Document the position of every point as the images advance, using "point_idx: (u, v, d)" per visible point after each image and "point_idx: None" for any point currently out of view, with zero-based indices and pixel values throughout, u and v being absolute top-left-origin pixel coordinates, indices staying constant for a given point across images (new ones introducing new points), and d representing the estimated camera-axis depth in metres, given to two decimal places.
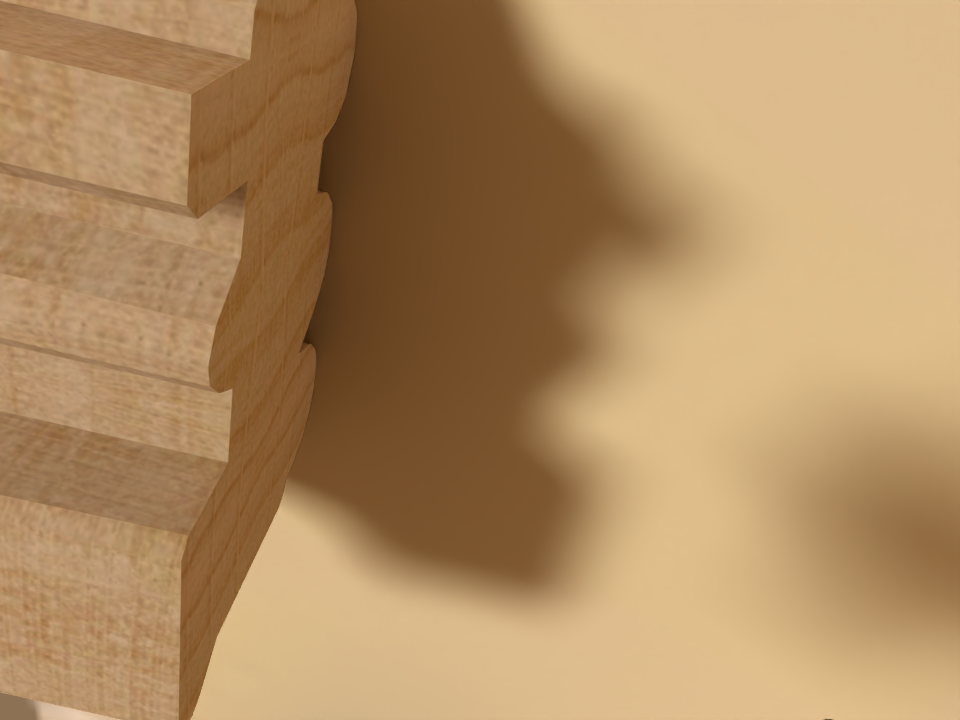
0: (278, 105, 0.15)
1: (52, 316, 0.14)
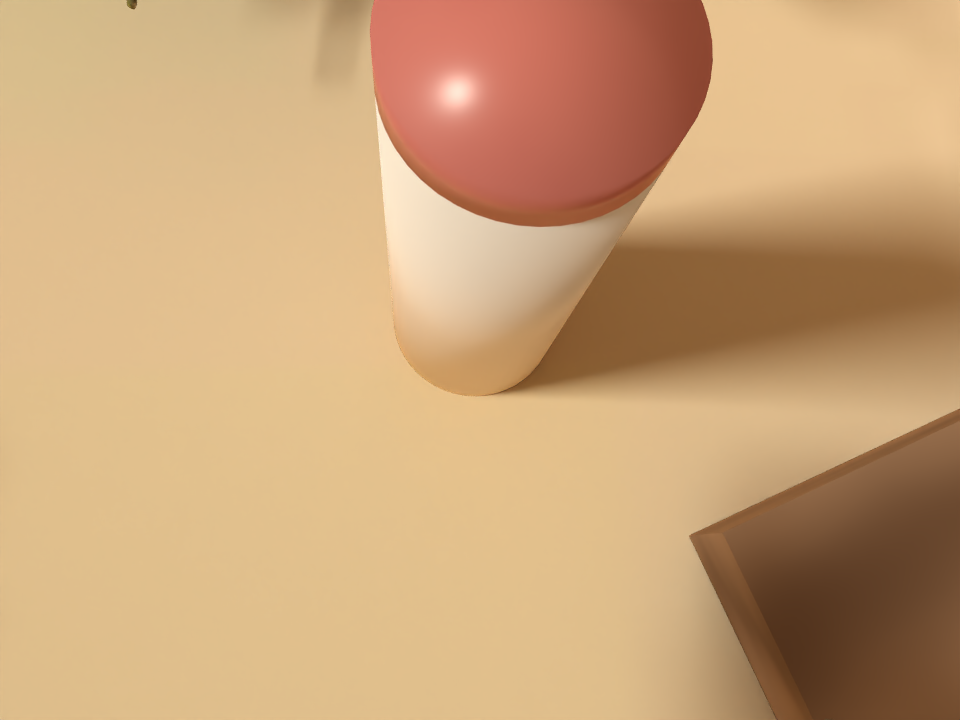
0: None
1: None
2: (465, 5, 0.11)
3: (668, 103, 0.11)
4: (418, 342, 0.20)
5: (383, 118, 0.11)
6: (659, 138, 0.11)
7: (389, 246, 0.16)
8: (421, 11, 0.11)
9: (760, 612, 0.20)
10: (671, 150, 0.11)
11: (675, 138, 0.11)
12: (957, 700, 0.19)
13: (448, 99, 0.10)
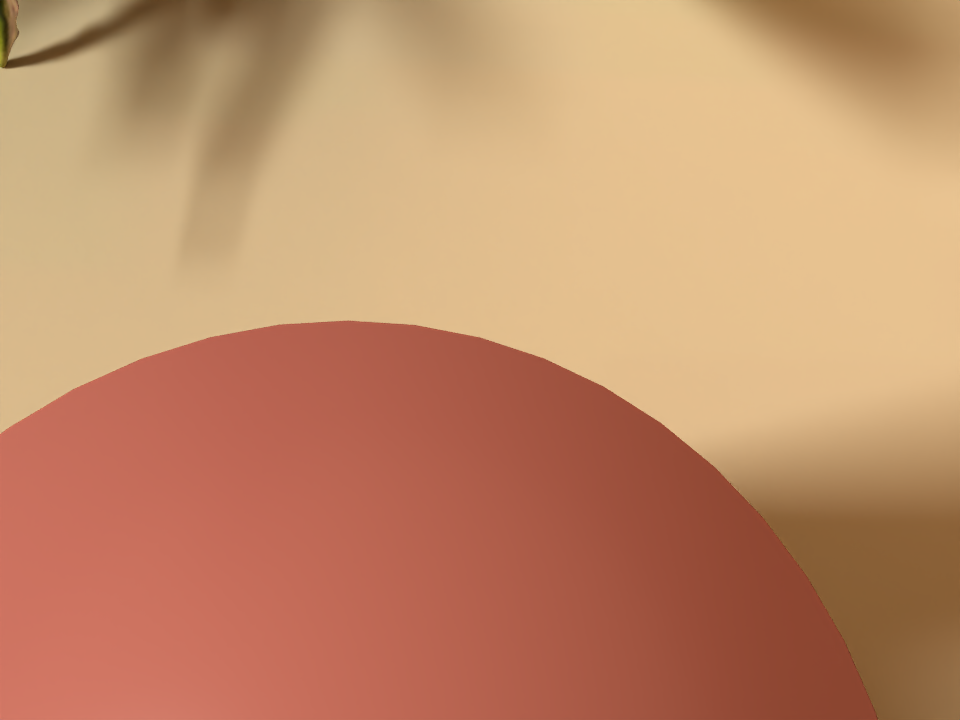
0: None
1: None
2: None
3: None
4: None
5: None
6: None
7: None
8: None
9: None
10: None
11: None
12: None
13: None
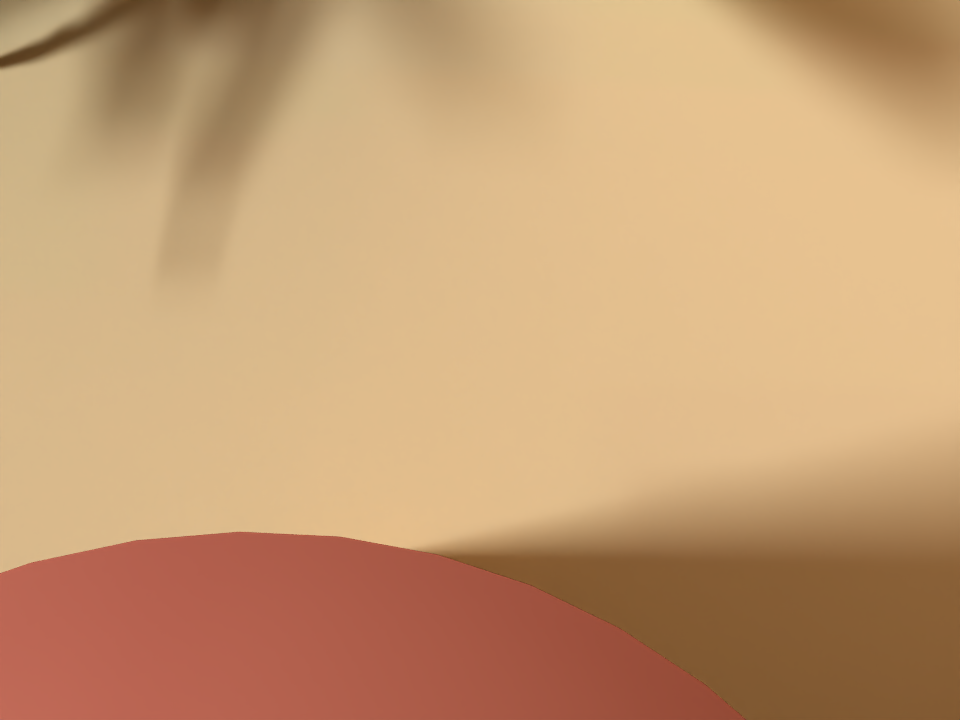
0: None
1: None
2: None
3: None
4: None
5: None
6: None
7: None
8: None
9: None
10: None
11: None
12: None
13: None
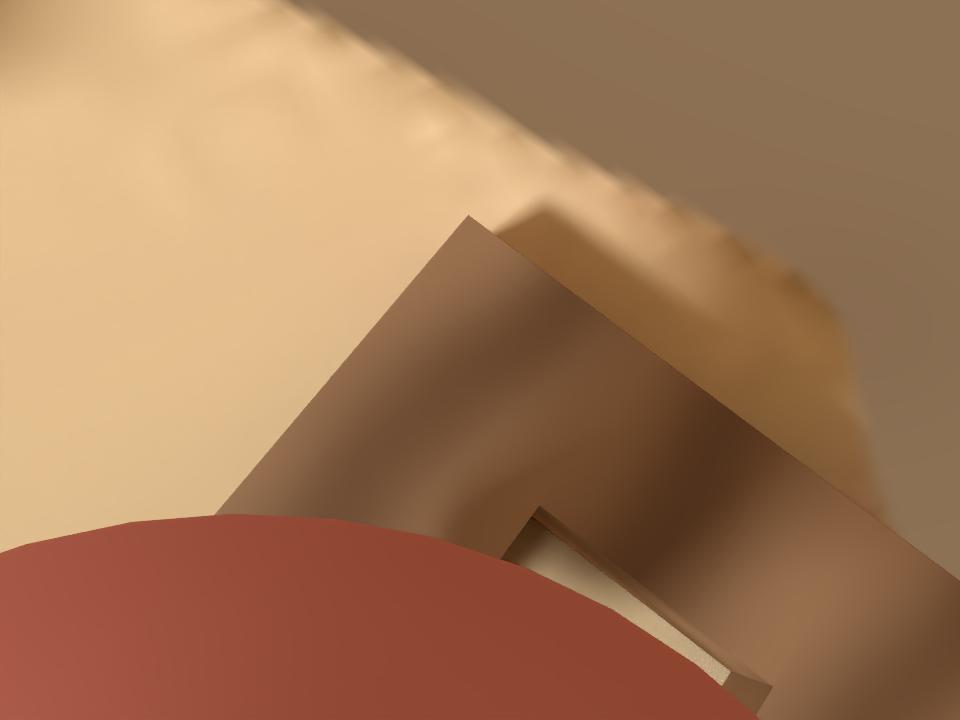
0: None
1: None
2: None
3: None
4: None
5: None
6: None
7: None
8: None
9: None
10: None
11: None
12: None
13: None
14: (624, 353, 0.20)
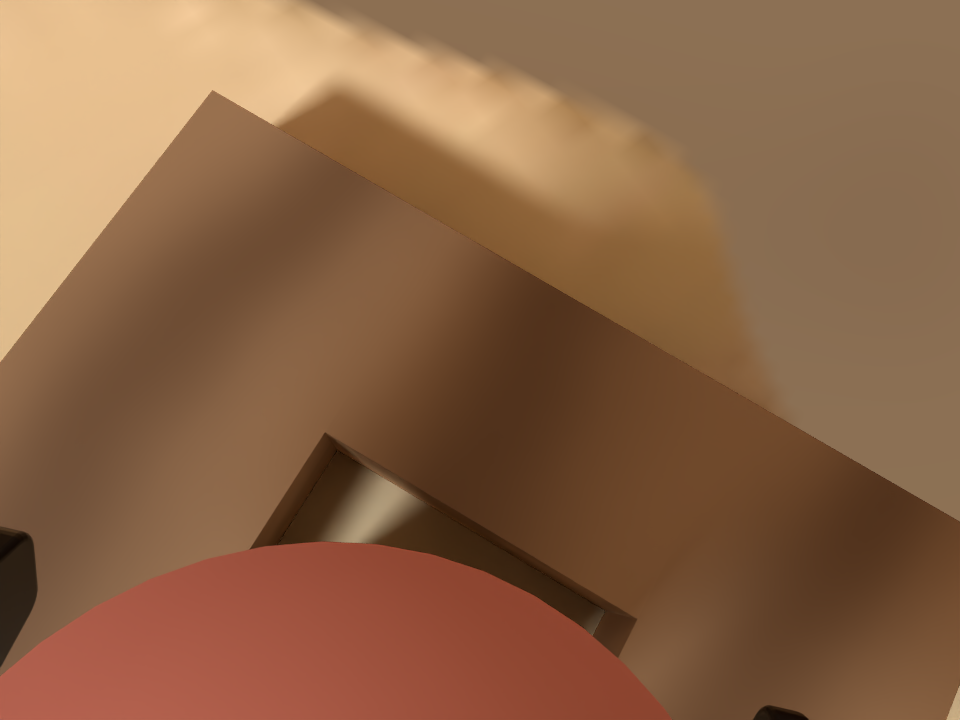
0: None
1: None
2: None
3: None
4: None
5: None
6: None
7: None
8: None
9: None
10: None
11: None
12: None
13: None
14: (420, 235, 0.16)
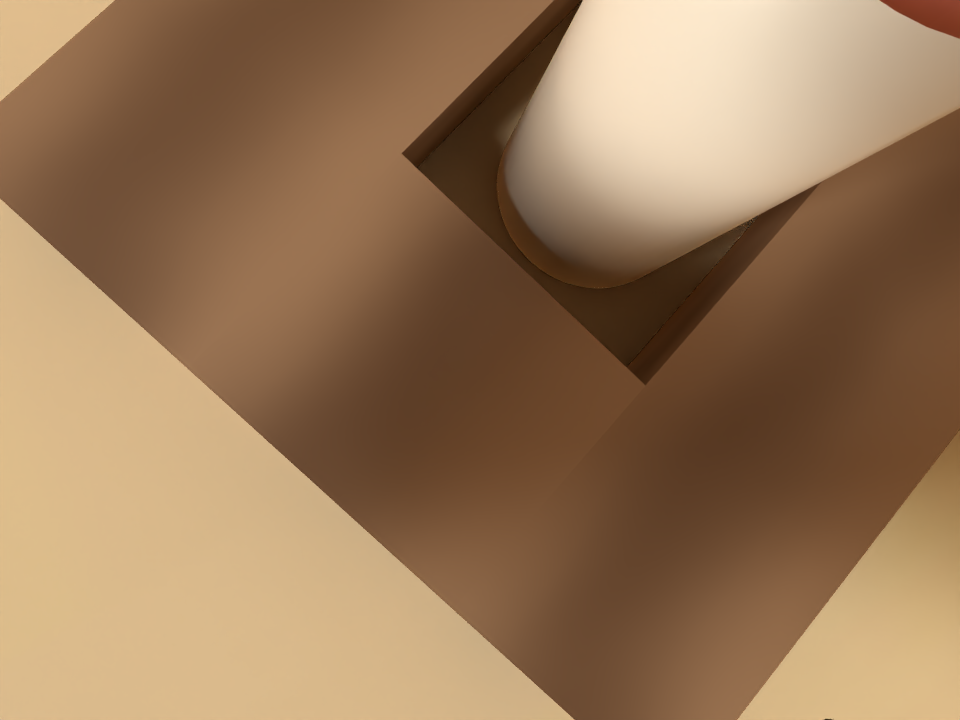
0: None
1: None
2: None
3: None
4: (549, 202, 0.15)
5: None
6: None
7: (581, 55, 0.12)
8: None
9: (35, 229, 0.15)
10: None
11: None
12: (324, 238, 0.15)
13: None
14: None
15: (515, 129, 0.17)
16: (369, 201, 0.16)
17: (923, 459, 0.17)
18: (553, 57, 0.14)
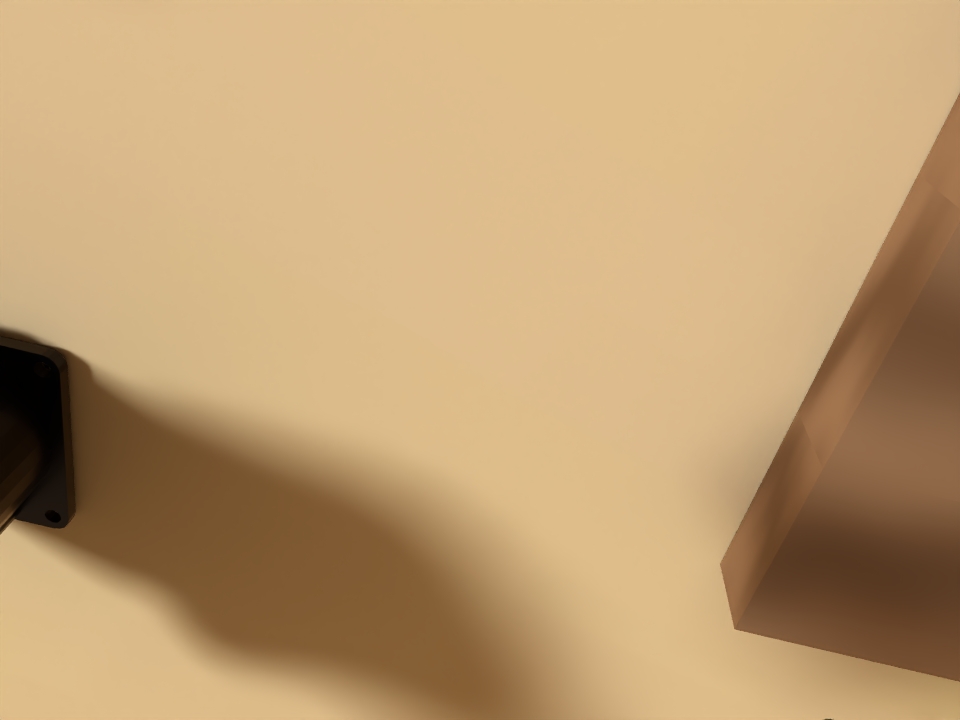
0: None
1: None
2: None
3: None
4: None
5: None
6: None
7: None
8: None
9: None
10: None
11: None
12: None
13: None
14: None
15: None
16: None
17: None
18: None
